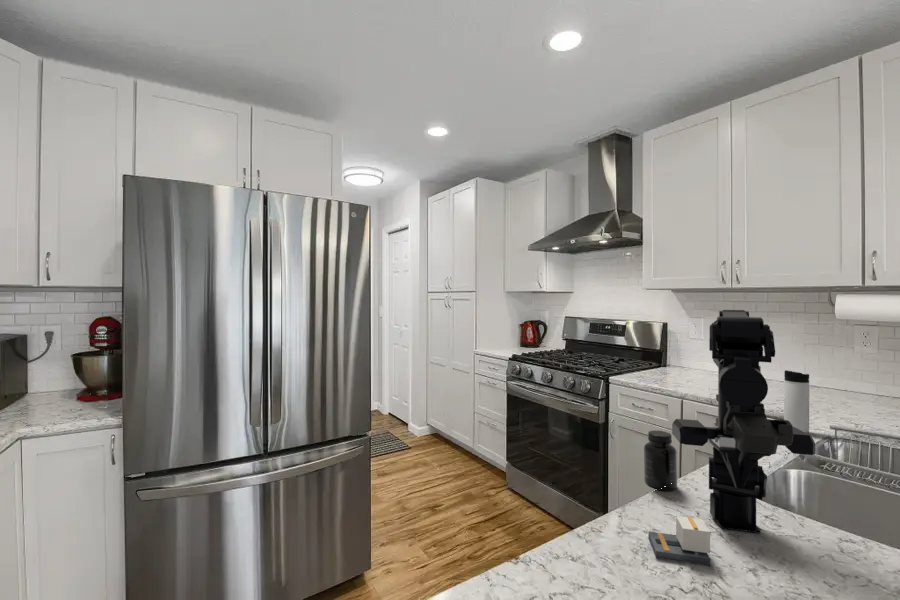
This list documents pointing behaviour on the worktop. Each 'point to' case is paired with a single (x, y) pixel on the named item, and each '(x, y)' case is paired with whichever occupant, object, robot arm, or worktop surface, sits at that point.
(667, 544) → the panel
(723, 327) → the robot arm
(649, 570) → the worktop surface
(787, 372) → the travel mug
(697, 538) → the block
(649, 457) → the supplement bottle
